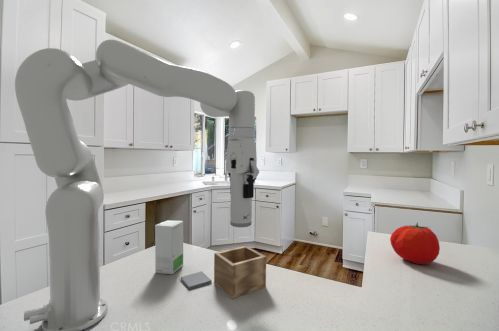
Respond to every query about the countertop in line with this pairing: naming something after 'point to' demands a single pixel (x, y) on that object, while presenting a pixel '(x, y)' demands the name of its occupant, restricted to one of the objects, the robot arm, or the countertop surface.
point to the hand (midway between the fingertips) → (241, 195)
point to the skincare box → (168, 246)
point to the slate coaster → (195, 280)
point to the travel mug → (239, 200)
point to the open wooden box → (239, 271)
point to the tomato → (415, 244)
